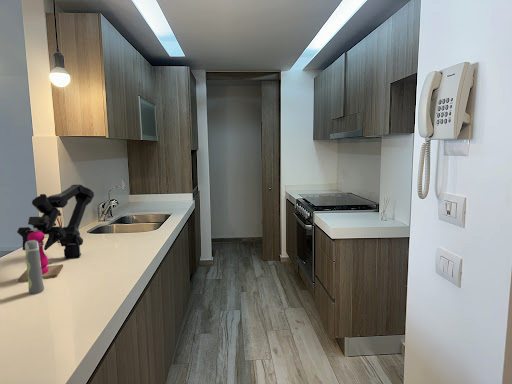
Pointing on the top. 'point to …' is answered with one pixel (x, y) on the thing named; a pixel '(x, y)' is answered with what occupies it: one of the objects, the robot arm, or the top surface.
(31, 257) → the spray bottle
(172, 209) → the top surface
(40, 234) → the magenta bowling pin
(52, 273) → the taupe cutting board
